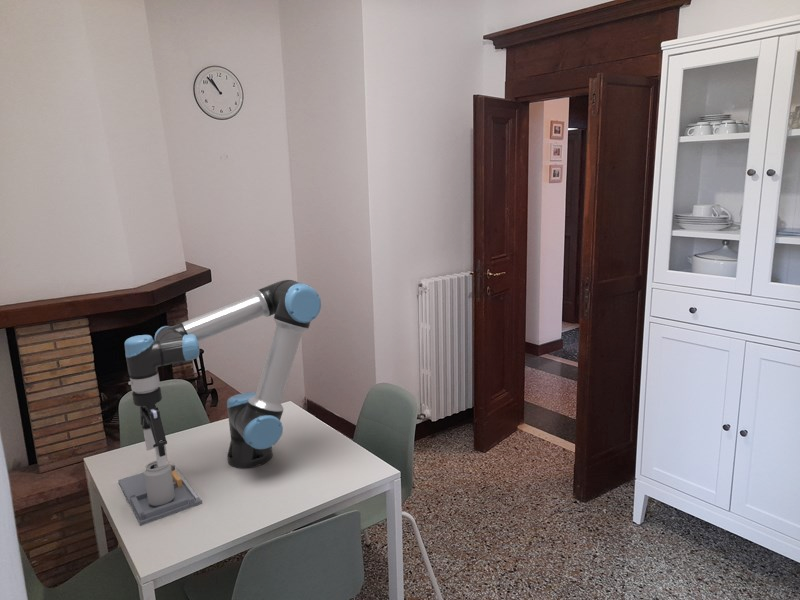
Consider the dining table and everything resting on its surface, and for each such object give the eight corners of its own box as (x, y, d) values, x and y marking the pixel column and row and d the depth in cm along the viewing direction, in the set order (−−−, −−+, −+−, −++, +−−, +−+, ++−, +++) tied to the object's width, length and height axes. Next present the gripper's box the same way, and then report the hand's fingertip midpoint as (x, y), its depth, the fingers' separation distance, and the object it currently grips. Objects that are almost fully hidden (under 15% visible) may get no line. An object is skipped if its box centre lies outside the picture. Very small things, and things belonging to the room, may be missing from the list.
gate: (183, 485, 179) (182, 475, 178) (176, 487, 178) (175, 478, 177) (168, 465, 193) (167, 456, 192) (162, 467, 191) (161, 458, 191)
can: (153, 495, 174) (148, 459, 172) (178, 493, 175) (173, 457, 172) (144, 509, 167) (139, 471, 164) (170, 506, 167) (165, 469, 165)
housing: (202, 503, 170) (201, 496, 170) (140, 525, 160) (139, 517, 160) (173, 465, 195) (172, 459, 194) (118, 482, 185) (117, 475, 184)
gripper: (123, 381, 171) (134, 446, 176) (142, 405, 151) (154, 477, 156) (149, 375, 175) (159, 438, 180) (171, 397, 156) (182, 468, 160)
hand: (157, 456), depth 168 cm, fingers open, 13 cm apart
